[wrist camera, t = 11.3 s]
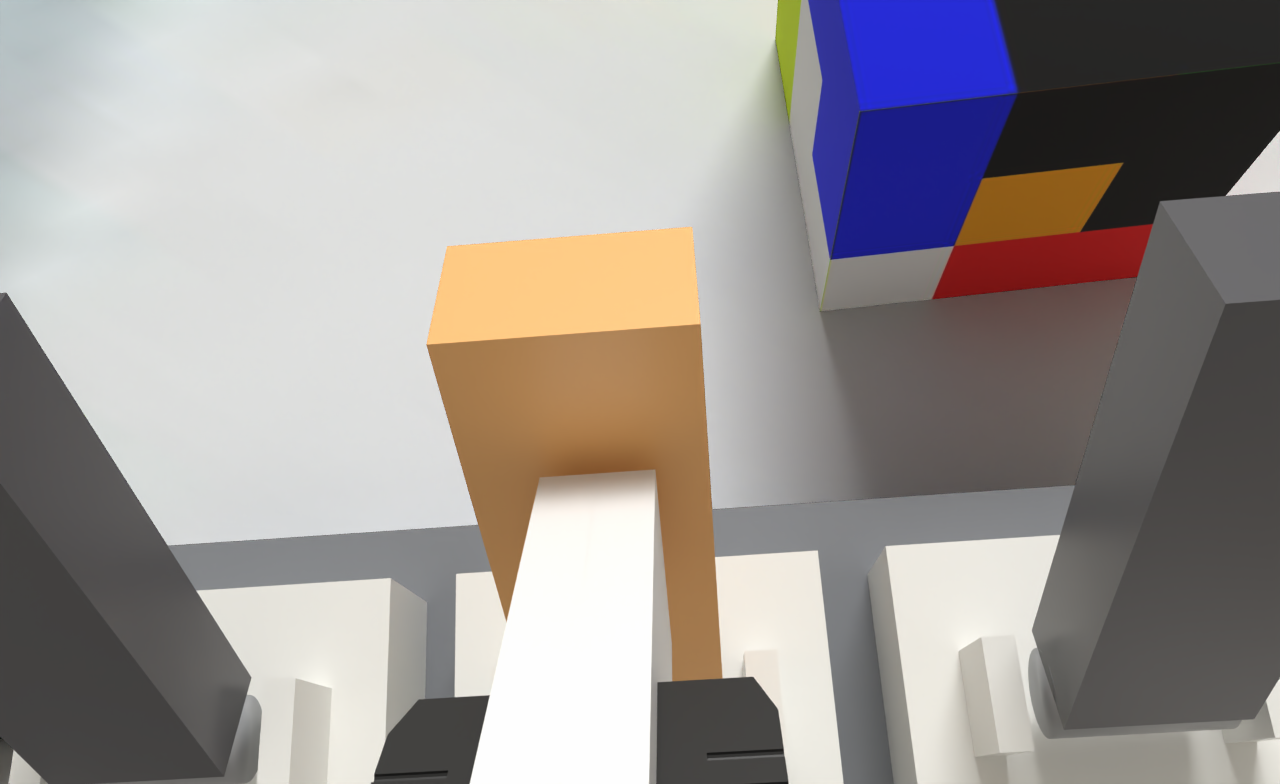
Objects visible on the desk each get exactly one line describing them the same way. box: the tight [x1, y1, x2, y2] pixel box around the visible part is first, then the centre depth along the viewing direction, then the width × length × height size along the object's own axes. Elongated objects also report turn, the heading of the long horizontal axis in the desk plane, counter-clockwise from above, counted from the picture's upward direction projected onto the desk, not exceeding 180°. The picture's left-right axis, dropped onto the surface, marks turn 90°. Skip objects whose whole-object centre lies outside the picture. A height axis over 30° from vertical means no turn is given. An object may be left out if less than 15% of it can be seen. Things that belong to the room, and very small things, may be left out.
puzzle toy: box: [775, 0, 1280, 311], centre depth 29 cm, size 10×10×10 cm
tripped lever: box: [426, 227, 723, 681], centre depth 17 cm, size 2×3×11 cm, turn 93°
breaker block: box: [0, 192, 1280, 784], centre depth 19 cm, size 10×26×18 cm, turn 93°
